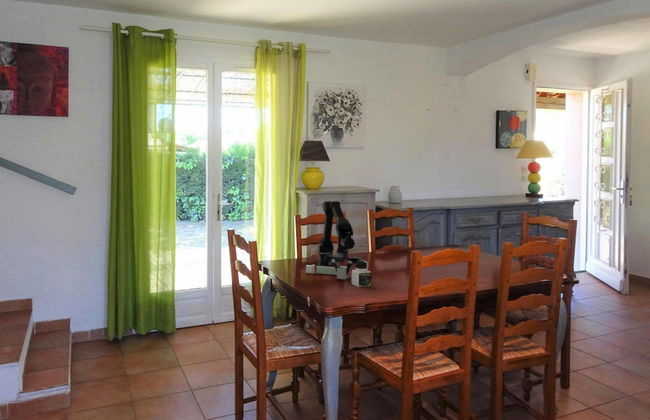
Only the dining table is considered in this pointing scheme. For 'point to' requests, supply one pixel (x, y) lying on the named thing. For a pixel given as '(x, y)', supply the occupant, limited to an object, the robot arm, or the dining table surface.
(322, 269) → the pale green curved bar
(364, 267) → the medicine bottle
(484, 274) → the dining table surface
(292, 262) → the dining table surface
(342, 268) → the grey cube block
